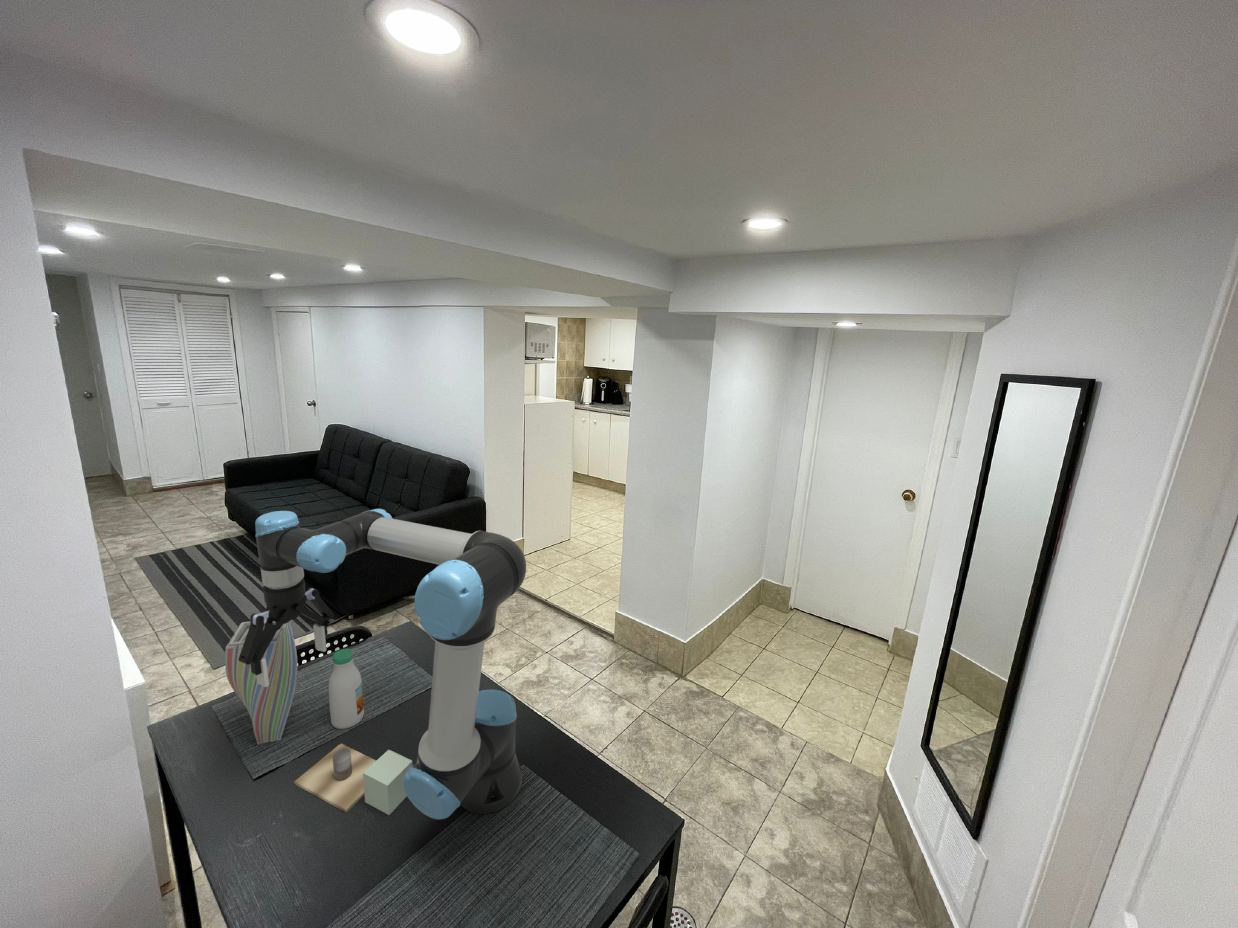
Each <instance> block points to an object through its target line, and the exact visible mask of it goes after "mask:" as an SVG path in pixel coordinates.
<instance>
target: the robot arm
mask: <svg viewBox="0 0 1238 928" xmlns="http://www.w3.org/2000/svg"><path fill="white" fill-rule="evenodd" d="M254 523H255V524H254V525H255V540H256V546H257V547H256V548H257V552H258V554H257V555H258V561H259V565H260V566H259V567H260V572H261V573H260V574H261V581H262V585H263V586H262V592H263V599H264V602H265V605H266V608H265V610H264V611H263V612H260V613H256V612H255V613H252V614H251V615H250V618H249V619H250V620H249V622H250V627H249V630H248V633H247V636H246V639H245V642H244V645H243V647H242V650H241V653H240V656H239V659H238V660H239V661H240V662H242V663H245V664H247V665H248V664H250V665H251V672H252V673H253V674H255V675H256V679H257V684H260V685H262V686H264V687H267V686H268V685H269V680H268V672H267V665H266V659H265V658H262V657H263V655H264V653H265V652H266V650H267V648H268V646H269V644H270V643H271V641H272V639H273V637H274V636H275V634H276V632H277V631H278V630H279V629H280V628H281V626H282V625H283V624H286V623H288V622H289V621H292V620H296V619H297V618H299V616H300V615H302V616H304V617H306V618H308V619H310V620H312V621H313V622H315V623H314V624H313V625H312V627H313V637H314V647H315V650H317V651H320V652H323V653H325V652H326V651H327V641H326V637H327V636H328V626H330V624H331V620H333V619H334V617H335V614H334V613H333V612H332V610H331V609H330V608H329V606H328V605H327V604H326V603H325V602H324V600H323V599H322V598H321V596H320V592H319V591H320V590H318V589H315V588H313V587H307V589H306V582H305V579H304V577H305V572H304V570H307V571H310V572H316V573H322V574H326V573H331V572H334V571H335V570H336V569H338V567H339V566H340V565H341V564H342V563H343V562H344V560H345V558H346V557H347V556H348V555H351V554H353V553H355V552H357V551H360V550H362V549H369V550H375V551H379V552H383V553H388V554H392V555H397V556H400V557H405V558H409V559H411V560H413V559H414V560H417V561H421V562H425V563H431V564H435V565H437V566H436V567H435V568H434V569H433V570H432V571H430V572H429V573H427V574H426V575H425V576H424V577H423V578H422V579H421V580H420V582H419V584H418V586H417V589H416V591H415V594H414V595H415V596H414V610H415V615H416V617H420V620H419V624H420V625H421V627H422V629H423V630H424V631H425V632H426V634H428V635H429V637H430V638H431V639H432V640H433V641H434V654H433V656H434V657H433V667H432V681H431V693H430V703H429V704H430V705H429V715H428V716H429V717H428V729H427V730H426V731H425V732H424V733H423V735H422V736H421V739H420V741H419V744H418V750H417V759H416V762H415V764H414V765H413V767H411V768H409V769H408V772H407V773H406V774H405V776H404V778H403V787H404V790H405V793H406V795H407V797H406V798H407V799H408V800H409V801H410V803H412V805H413V807H414V808H416V809H417V810H418V811H420V813H422V814H423V815H425V816H427V817H429V818H431V819H433V820H444V819H445V820H446V819H447V818H449V817H450V816H451V815H452V814H453V813H454V812H455V811H456V810H457V808H460V806H461V807H462V808H463V809H465V810H466V811H468V812H470V813H473V814H477V815H486V814H487V815H488V814H492V813H495V812H498V811H501V810H502V809H504V808H505V807H507V806H509V805H510V804H511V803H512V802H513V801H514V800H515V799H516V798H517V796H518V795H519V792H520V791H521V788H522V783H523V770H522V766H521V763H520V761H519V760H518V757H517V753H516V734H517V733H516V732H517V730H516V729H517V717H518V714H517V706H516V703H515V699H514V698H513V697H512V696H511V695H510V694H508V693H507V692H505V691H502V690H499V689H491V688H490V689H482V690H480V685H481V684H480V683H481V675H482V666H483V660H484V659H483V657H484V648H485V642H486V641H487V640H489V638H491V636H492V635H493V634H494V631H495V627H496V618H497V611H498V608H499V607H500V605H502V604H503V603H504V602H505V601H507V600H508V599H509V598H511V597H512V596H513V595H514V594H515V593H516V592H517V591H518V590H519V589H520V588H521V586H522V585H523V583H524V580H525V578H526V575H527V561H526V557H525V554H524V552H523V550H522V549H521V548H520V546H519V545H518V544H517V542H515V541H514V540H512V539H510V538H509V537H507V536H504V535H502V534H498V533H495V532H489V531H484V530H476V531H475V532H473V533H469V532H464V531H458V530H453V529H447V528H443V527H438V526H432V525H426V524H422V523H416V522H412V521H406V520H402V519H397V518H396V519H395V518H393V517H392V515H391V514H390V513H388V512H387V511H386V509H383V508H373V509H371V510H366V511H362V512H360V513H359V514H355V515H353V516H350V517H348V518H344V519H341V520H339V521H335V522H333V523H331V524H328V525H324V526H322V527H319V528H316V529H308V528H305V527H302V526H300V521H299V518H298V515H297V514H296V513H295V512H294V511H291V510H290V511H289V510H278V511H271V512H267V513H264V514H261V515H260V516H259V517H257V518H256V520H255V522H254ZM307 600H309V601H310V602H311V603H312V605H313V606H314V608H316V610H317V611H318V612H319V613H320V614H321V615H318V614H317V613H315V612H314V611H312V610H310V609H308V608H306V607H305V606H306V605H305V604H306V602H307ZM266 620H267V621H266ZM273 621H275V622H277V623H276V624H275V625H274V624H273ZM264 624H265V627H264ZM263 628H264V629H263ZM256 654H257V655H256Z"/></svg>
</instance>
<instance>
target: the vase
mask: <svg viewBox="0 0 1238 928" xmlns="http://www.w3.org/2000/svg"><path fill="white" fill-rule="evenodd" d="M266 621H267V619H266ZM290 621H291V620H290ZM290 621H289V622H288V623H286V624H283V625H282V626H281V628H280V629H279V630H278V631H277V632H276V634H275V636H274V637H273V639H272V641H271V643H270V644H269V646H268V648H267V650H266V652H265V653H264V655H263V657H262V658H265V659H266V665H267V672H268V680H269V685H268V686H267V687H264V686H262V685H260V684H257V679H256V675H255V674H253V673H252V672H251V665H250V664H248V665H247V664H245V663H242V662H240V661H239V660H238V659H239V656H240V653H241V650H242V647H243V645H244V642H245V639H246V636H247V633H248V630H249V627H250V621H243V622H241V623H240V624H239V626H238V628H237V629H236V630H235V632H234V634H233V635H232V637H231V638H230V640H229V642H228V643H227V645H226V646H225V652H224V667H225V668H224V669H225V674H226V679H227V681H228V684H229V686H230V688H232V690H233V691H234V693H235V695H236V696H237V697H238V698H239V700H240V701H241V702H242V703H243V704H244V707H245V708H246V710H247V712H248V714H249V717H250V720H251V723H252V724H251V725H252V727H253V728H252V729H253V734H254V737H255V739H256V745H261V744H267V743H269V742H270V743H272V742H275V741H277V742H278V741H281V740H282V736H283V735H284V731H285V728H286V722H287V719H288V716H289V715H290V714H289V713H290V710H291V707H292V703H293V699H294V697H295V696H294V694H295V691H296V687H297V686H296V684H297V676H298V655H297V653H298V652H297V646H296V640H295V637H294V632H293V628H292V625H291V622H290ZM276 623H277V622H275V621H273V624H274V625H275V624H276ZM264 627H265V624H264ZM263 629H264V628H263ZM256 655H257V654H256Z"/></svg>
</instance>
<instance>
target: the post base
mask: <svg viewBox="0 0 1238 928" xmlns="http://www.w3.org/2000/svg"><path fill="white" fill-rule="evenodd" d="M376 761H377V760H376V759H373V758H372V757H370V756H367V755H366V754H363V753H362V752H360V751H357V750H356V749H353V748H351V747H350V746H348V745H345V744H343V743H340V744H338V745H337V746H336V747H334V748H333V749H332V750H331V751H329V752H328V753H327V754H326V755H325V756H323V757H322V758H320V760H318V762H316V763H315V764H314V765H312V766H311V767H310V768H308V769H307V770H306V771H305V772H304V773H303V774H301V775H300V776H299V777H298V778H297V779H296V780H294V781H293V782H294V785H295V786H297V787H298V788H300V789H302V790H304V791H306V792H308V793H310V794H312V795H313V796H314V797H317V798H319V799H320V800H322V801H325V802H326V803H327V804H329V805H331V806H333V807H335V808H336V809H338V810H340V811H342V812H343V813H346V814H347V813H348V812H349V811H350V810H351V809H352V808H353V807H354V806H355V805H356V804H357V803H358V802H359V801H360V800H361V799H362V798H363V797H365V795H364V781H363V773H364V772H365V771H366V770H367V769H368V768H369V767H370V766H371V765H372V764H373V763H375V762H376Z"/></svg>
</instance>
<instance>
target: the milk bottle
mask: <svg viewBox="0 0 1238 928" xmlns="http://www.w3.org/2000/svg"><path fill="white" fill-rule="evenodd" d="M333 653H334V654H333V655H332V664H333V666H334V667H333V671H332V672H331V674H330V677H329V680H328V688H327V689H328V700H329V714H330V715H329V716H330V722H331V725H332V726H333V727H334V728H335V729H339V730H346V729H349V728H352V727H354V726H356V725H358V724H359V723H360V722H361V721H362V719H363V717H364V716H365V707H364V705H365V704H364V691H363V690H364V689H363V682H362V676H361V673H360V671H359V669H358V668H357V666H356V665H355V663H354V651H353V650H352V649H351V648H343V649H340V650H337V651H335V652H333Z"/></svg>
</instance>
